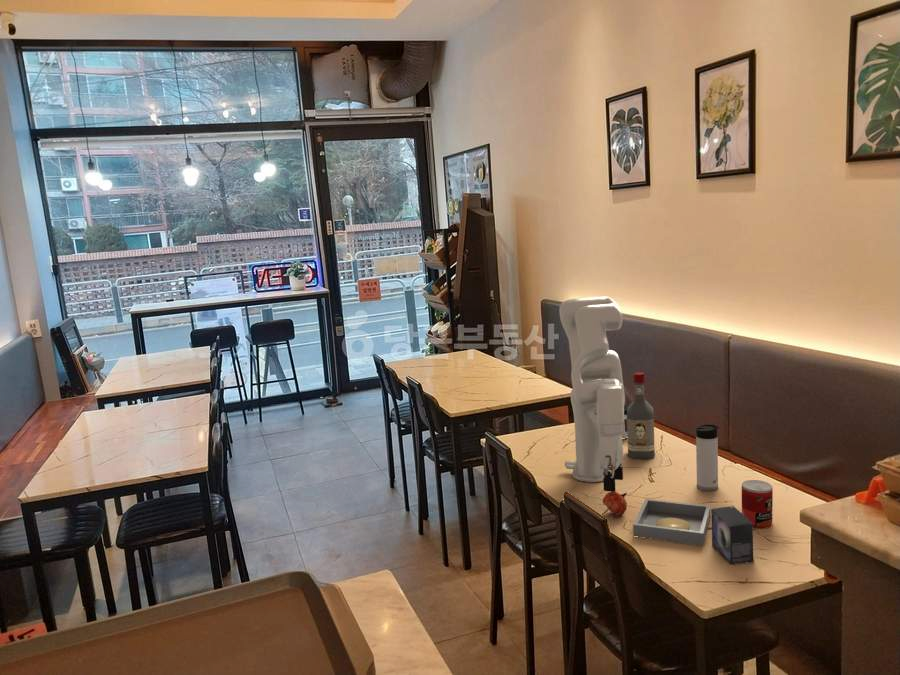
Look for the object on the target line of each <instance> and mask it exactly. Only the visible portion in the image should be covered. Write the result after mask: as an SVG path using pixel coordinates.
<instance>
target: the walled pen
mask: <svg viewBox="0 0 900 675" xmlns="http://www.w3.org/2000/svg"><path fill="white" fill-rule="evenodd" d="M711 506H712V505H707V504H706V505H705V504H700V503H699V504H698V503H696V504H695V503H689V502H688V503H687V502H681V501H679V502H678V501H670V500H662V499H661V500H660V499H650V498H645V499H644V501H643V503H642V505H641V507H640V510H639V512H638V513H637V515H636V518H635V520H634V521H633V524H632V526H633V528H632V530H633V534H632V535H633V536H638V537H637V538H640V537H645V538H644V539H647V538H652V539H651V540H655V539H657V540H656V541H662V540H663V541H664V540H665V541H664V542H670V541H671V543H677V542H678V544H685V543H686V545H692V544H693V546H699V547H701V546H702V547H704V545H705V541H706V537H707V533H708V529H709V526H710V522H711V509H712V508H711ZM633 536H632V537H633ZM658 539H659V540H658Z"/></svg>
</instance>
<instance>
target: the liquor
mask: <svg viewBox="0 0 900 675" xmlns="http://www.w3.org/2000/svg"><path fill="white" fill-rule="evenodd" d="M645 374H646V373H644V372H634V373H633V383H634V392H635V393H634V394H635V395H634V396H635V397H634V400H633V401H632V402H631V403H629V407H628V409H627V437H628V439H627V455H628V457H629V458H631V457H632V459H634V460H635V458H636V460H650V459H653V458H654V457H655V456H656V455H655V454H656V452H655V450H656V449H655V447H656V446H655V418H654V417H655V415H654V414H655V412H654V407H653V406H652V405H651V404H650V403H649V402H648V401H647V400H646V396H645V384H644V383H646V382H645V380H646V379H645V378H646V377H645Z"/></svg>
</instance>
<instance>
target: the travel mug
mask: <svg viewBox="0 0 900 675" xmlns="http://www.w3.org/2000/svg"><path fill="white" fill-rule="evenodd" d="M719 427H720V426H719V425H718V424H709V423H707V424H702V425H701V424H700V425H698V426H696V428H695V433H696V434H695V446H696V447H695V449H696V450H695V451H696V452H695V455H696V456H695V457H696V460H695V461H696V487H697V489H699V490H701V491H705V492H706V491H707V492H710V491H711V492H712V491H715V490H718V488H719V459H718V457H719V455H718V454H719V450H718V448H719V447H718V446H719V444H718V442H719V440H718V438H719V437H718V429H720V428H719Z"/></svg>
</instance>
